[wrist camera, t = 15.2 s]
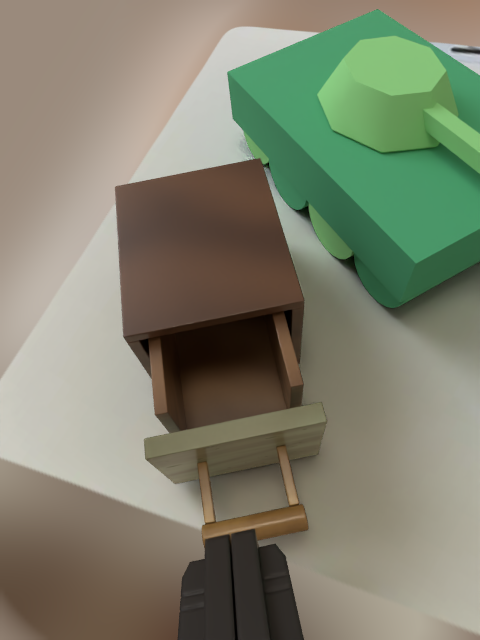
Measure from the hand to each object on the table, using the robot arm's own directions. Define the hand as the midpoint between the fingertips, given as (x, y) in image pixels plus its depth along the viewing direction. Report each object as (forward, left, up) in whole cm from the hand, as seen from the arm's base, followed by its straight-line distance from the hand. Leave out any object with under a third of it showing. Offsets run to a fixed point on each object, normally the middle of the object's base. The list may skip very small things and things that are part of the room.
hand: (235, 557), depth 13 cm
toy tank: (-12, +32, -19) cm, 39 cm away
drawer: (-8, +6, -18) cm, 20 cm away
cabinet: (-17, +12, -19) cm, 28 cm away
